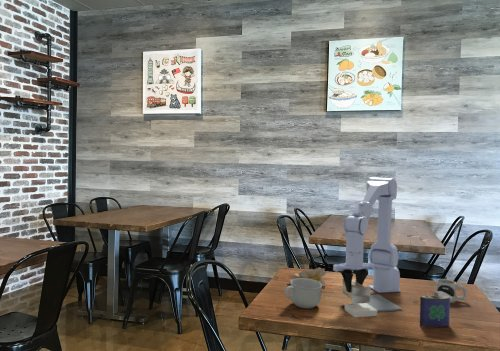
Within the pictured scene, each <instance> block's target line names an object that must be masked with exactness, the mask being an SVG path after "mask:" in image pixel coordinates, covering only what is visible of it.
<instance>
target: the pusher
mask: <svg viewBox="0 0 500 351" xmlns="http://www.w3.org/2000/svg"><path fill="white" fill-rule="evenodd" d="M342 294H344V295H345V296H346V297H347V298H349V299H351V304H359V303H370V295H371V288H370V287H368V286H365V285H361V284H359V283H358V282H356V280H355V279H353V278H352V283H351V292H347V291H346V286H345V282H344V279H343V278H342Z"/></svg>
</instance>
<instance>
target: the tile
mask: <svg viewBox="0 0 500 351" xmlns="http://www.w3.org/2000/svg"><path fill="white" fill-rule="evenodd" d="M344 311H345V312H347V313H349V315H351V316H352V317H353V318H363V317H377V316H378V312H377V310H376V309H375V308H373V307H372V306H370V305H369V304H367V303H354V304H353V303H345V304H344Z"/></svg>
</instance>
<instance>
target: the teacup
mask: <svg viewBox="0 0 500 351" xmlns="http://www.w3.org/2000/svg"><path fill="white" fill-rule="evenodd" d="M322 287H323V284H321V283H320V282H318V281H316V280H312V279H305V278H298V279H291V280H290V285H288V286H286V288H285V290H284V296H285V297H286V299H288V300H289V301H291V302H292V303H293V304H294V305H295V306H297V307H298V308H300V309H301V308H302V309H313V308H314V307H316V306H318V305H319V303H320V301H321V300H322V298H321V297H322V289H323V288H322Z"/></svg>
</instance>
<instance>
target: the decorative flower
mask: <svg viewBox="0 0 500 351" xmlns="http://www.w3.org/2000/svg"><path fill="white" fill-rule="evenodd" d="M325 269H326V268H321V267H317V268H314V269H313V268H310V269H308V271H307V270H302V271H299V273H295V274H293V275H289V276H288V278H289V279H291V280H293V279H298V278H305V279H312V280H316V281H318V282H320V283H321V284H322V285H326V283H327V281H325V280H323V279H322V277H324V276H325V275H327V273H328V272H329V270H327V271H325Z"/></svg>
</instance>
